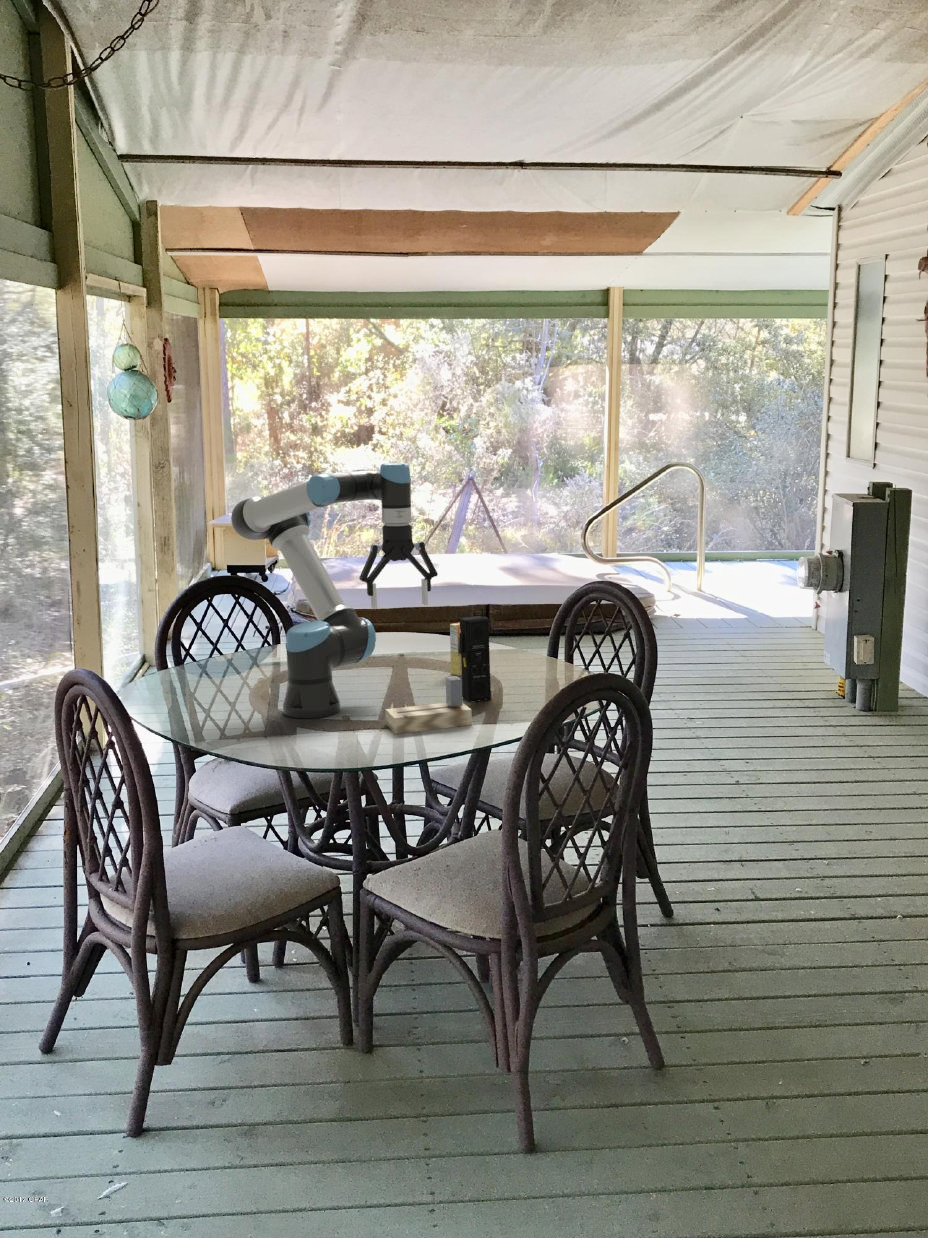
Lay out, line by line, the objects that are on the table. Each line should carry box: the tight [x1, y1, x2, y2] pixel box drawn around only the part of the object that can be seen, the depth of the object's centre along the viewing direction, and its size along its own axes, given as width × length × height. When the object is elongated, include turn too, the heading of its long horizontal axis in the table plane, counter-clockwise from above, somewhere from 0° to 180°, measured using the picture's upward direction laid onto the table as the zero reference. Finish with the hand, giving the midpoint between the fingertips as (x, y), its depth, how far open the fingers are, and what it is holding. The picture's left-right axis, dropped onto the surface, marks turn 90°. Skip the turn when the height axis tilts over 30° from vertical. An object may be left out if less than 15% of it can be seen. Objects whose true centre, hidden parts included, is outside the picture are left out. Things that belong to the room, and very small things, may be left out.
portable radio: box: [459, 607, 492, 703], centre depth 313 cm, size 8×6×25 cm
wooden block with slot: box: [384, 702, 473, 735], centre depth 291 cm, size 20×9×4 cm, turn 109°
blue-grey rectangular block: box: [445, 675, 463, 707], centre depth 292 cm, size 3×4×7 cm
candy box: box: [449, 622, 462, 677], centre depth 345 cm, size 9×4×15 cm, turn 129°
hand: (399, 606), depth 298 cm, fingers open, 13 cm apart
